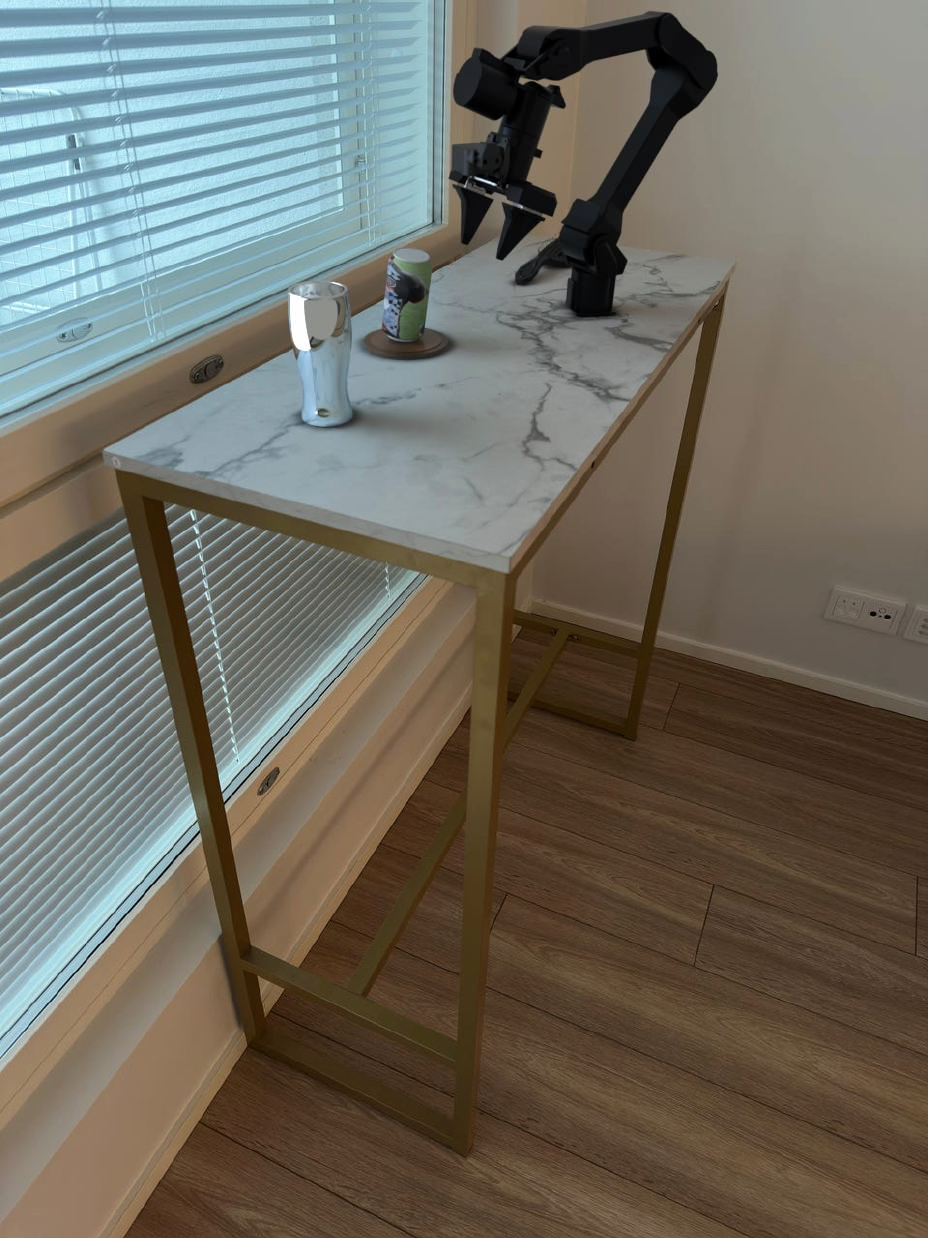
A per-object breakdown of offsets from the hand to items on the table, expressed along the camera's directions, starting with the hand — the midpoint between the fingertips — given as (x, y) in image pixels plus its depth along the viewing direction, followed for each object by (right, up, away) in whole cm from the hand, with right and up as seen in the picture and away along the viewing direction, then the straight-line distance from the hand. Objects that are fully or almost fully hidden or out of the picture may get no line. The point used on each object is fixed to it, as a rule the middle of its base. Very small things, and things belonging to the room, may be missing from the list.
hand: (481, 251), depth 127 cm
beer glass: (-19, -28, -19) cm, 38 cm away
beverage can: (-10, -12, +1) cm, 16 cm away
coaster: (-11, -13, +1) cm, 17 cm away
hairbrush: (+13, +11, +34) cm, 38 cm away
